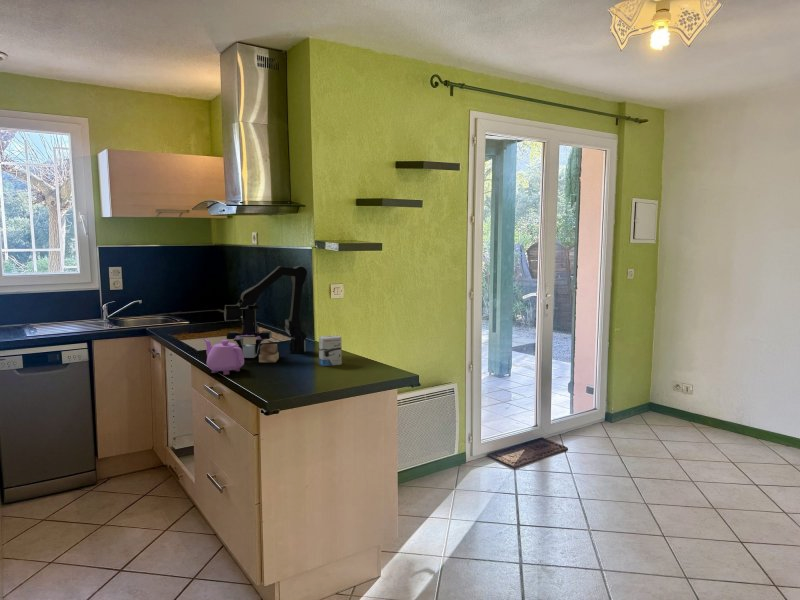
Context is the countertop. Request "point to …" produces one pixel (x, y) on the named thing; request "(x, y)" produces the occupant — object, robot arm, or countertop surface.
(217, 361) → the teapot
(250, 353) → the pale blue cube
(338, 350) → the ink box
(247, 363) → the countertop surface
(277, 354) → the oak base slab
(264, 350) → the walnut mid slab
